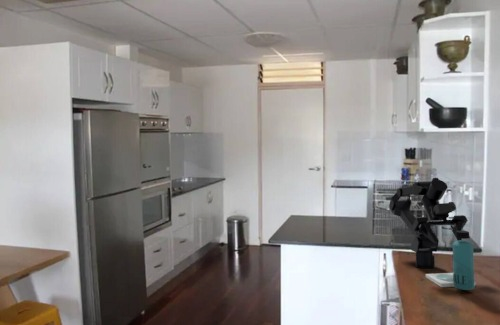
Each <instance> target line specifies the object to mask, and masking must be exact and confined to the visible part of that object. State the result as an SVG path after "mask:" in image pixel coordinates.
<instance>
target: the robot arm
mask: <svg viewBox="0 0 500 325" xmlns="http://www.w3.org/2000/svg"><path fill="white" fill-rule="evenodd" d="M447 190H448V184H447V183H446V182H445V181H443V180H441V179H439V177H432V179H431V180H428V181H426V180H425V181H415V182H413V183H412V185H409V186H405V187H399V188H397V190H396V192H395V194H394V195H392V196H391V197H390V201H389V204H388V206H389V207H388V208H389V210H390V212H391V213H392V214H393V215H394V216H396V217H399V218H401V220H402V221H403V222H404V223H405V225H406V226H407V228H408V229H409V231H410V232H411V233H412V235H413V239H412V242H411V244H410V248H411V251H412V252H414V253H415V268H420V269H421V268H422V269H423V268H424V269H434V267H435V254H434V253H433V252H438V248H439V247H438V246H439V238H438V237H437V235H436V232H435V231H433V229H432V227H434V226H436V227H440V226H441V227H443V226H445V227H446V226H449V227H450V228H451V229H452V230H451V232H452V233H453V236H454V237H455V238H456V231H462V229H464V227H465V226H466V224H467V223H468V222H469V220H468V218H467V217H466V215H463V214H462V215H461V214H460V215H457V214H456V215H454V216H453V217H452V219H448V218H449V216H450V213H453V212H455V211H456V209H457V206H456V204H455V202H454V201H449V202H445V203H440V200H442V199H443V196H444V195H445V193H446V192H447ZM411 196H416V197H421V199H420V204H419V205H420V206H422V207H423V208H424V210H425V216H417V217H416V216H415V214H414V213H413V212H412V211H411V207H412V202H413V201H412V198H411ZM402 197H405V198H406V197H407V199H401V198H402ZM456 239H457V240H456V241H458V240H463V239H461V238H456Z"/></svg>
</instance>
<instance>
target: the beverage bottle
mask: <svg viewBox="0 0 500 325" xmlns="http://www.w3.org/2000/svg"><path fill="white" fill-rule="evenodd" d="M457 238H461V239H462V240H455V241H454V242H453V243H452V245H451V246H452V256H451V258H452V273H453V279H454V280H453V282H454V284H453V285H454V287H453V288H455V289H458V290H463V291H470V290H471V291H472V290H474V289H475V285H474V284H475V283H474V281H475V282H476V280H475V267H474V266H475V265H474V262H475V260H474V244H473V243H472V242H471V241H470V240H469V241H468V240H467V239H470V238H471V236H470V232H469V231H467V230H461V231H456V237H455V239H457ZM463 239H464V240H463ZM465 239H466V240H465Z"/></svg>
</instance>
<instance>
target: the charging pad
mask: <svg viewBox="0 0 500 325" xmlns="http://www.w3.org/2000/svg"><path fill="white" fill-rule="evenodd" d="M425 279H427V280H429V281H431V282H433V283H434V284H435V285H438V286H439V287H441V288H451V287H452V288H455V287H454V285H453V284H454V282H453V280H454V279H453V272H439V273H425ZM474 283H475V284H474V285H475V286H477V282H476V280H475V281H474Z"/></svg>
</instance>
